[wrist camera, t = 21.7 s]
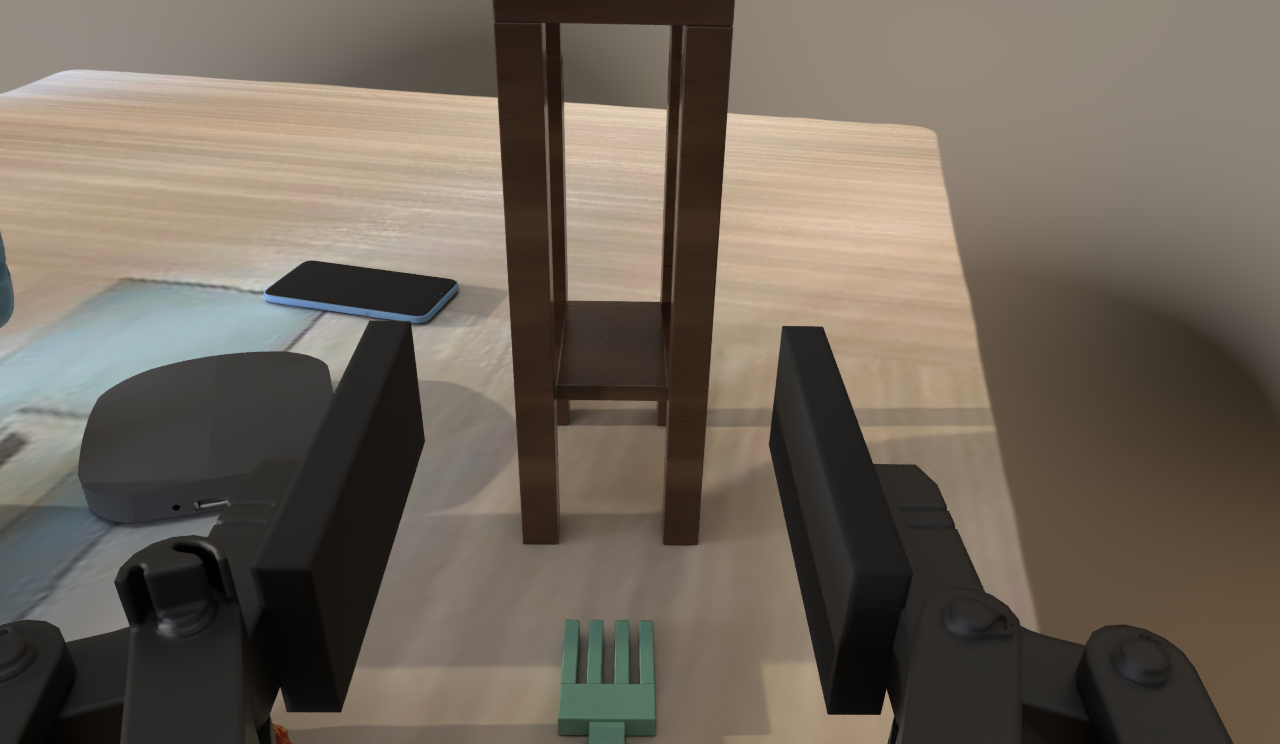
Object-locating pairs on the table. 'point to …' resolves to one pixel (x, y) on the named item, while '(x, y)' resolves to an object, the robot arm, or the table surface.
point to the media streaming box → (197, 431)
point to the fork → (607, 686)
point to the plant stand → (537, 251)
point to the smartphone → (363, 291)
